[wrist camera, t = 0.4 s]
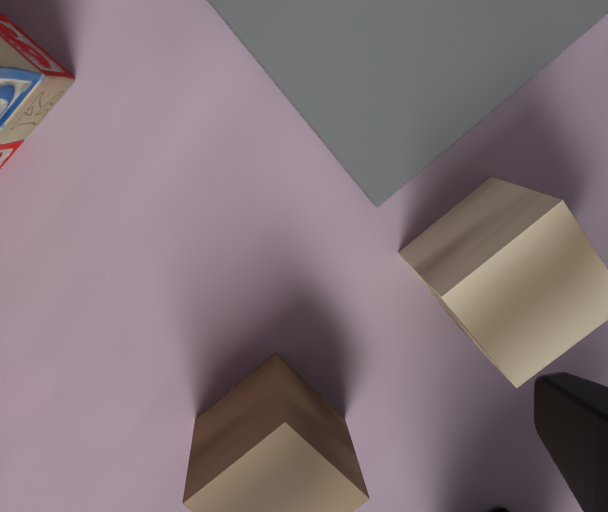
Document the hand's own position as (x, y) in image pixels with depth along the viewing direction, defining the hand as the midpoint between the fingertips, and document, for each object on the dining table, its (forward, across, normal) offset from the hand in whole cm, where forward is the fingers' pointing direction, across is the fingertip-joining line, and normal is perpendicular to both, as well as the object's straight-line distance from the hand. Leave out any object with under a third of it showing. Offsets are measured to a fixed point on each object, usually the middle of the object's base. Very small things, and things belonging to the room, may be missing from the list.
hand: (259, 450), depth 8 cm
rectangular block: (+14, +1, +9) cm, 16 cm away
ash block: (+13, -9, +3) cm, 17 cm away
